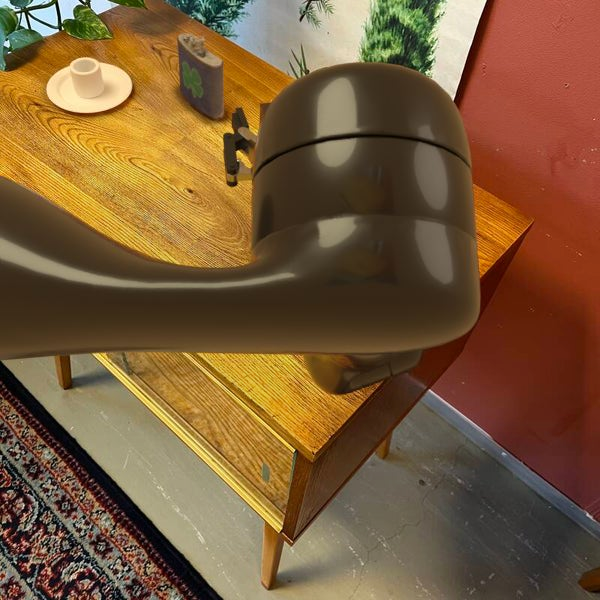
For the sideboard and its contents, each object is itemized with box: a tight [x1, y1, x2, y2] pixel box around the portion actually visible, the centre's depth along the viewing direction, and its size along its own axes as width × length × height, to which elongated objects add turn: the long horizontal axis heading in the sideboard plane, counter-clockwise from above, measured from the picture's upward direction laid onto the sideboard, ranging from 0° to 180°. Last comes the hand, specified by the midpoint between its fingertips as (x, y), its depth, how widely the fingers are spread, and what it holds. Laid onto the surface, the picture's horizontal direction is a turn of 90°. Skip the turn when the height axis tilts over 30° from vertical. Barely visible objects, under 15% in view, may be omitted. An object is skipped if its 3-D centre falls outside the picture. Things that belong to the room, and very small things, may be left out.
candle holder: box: [46, 56, 133, 114], centre depth 95 cm, size 12×12×4 cm
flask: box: [176, 32, 225, 122], centre depth 93 cm, size 9×3×11 cm, turn 40°
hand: (265, 111), depth 77 cm, fingers open, 6 cm apart
